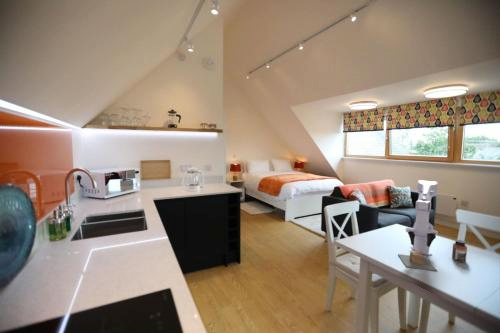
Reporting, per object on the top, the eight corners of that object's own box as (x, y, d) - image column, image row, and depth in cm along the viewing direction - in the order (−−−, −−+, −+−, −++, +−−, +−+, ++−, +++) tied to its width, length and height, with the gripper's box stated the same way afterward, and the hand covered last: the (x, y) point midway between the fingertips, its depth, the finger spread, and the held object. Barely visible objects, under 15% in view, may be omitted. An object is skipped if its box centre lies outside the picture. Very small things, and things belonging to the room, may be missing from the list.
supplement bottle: (451, 256, 137) (453, 238, 136) (465, 259, 133) (467, 240, 132) (451, 260, 132) (453, 241, 131) (466, 264, 128) (468, 244, 127)
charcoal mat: (398, 255, 139) (398, 254, 139) (425, 258, 135) (425, 257, 135) (406, 267, 126) (406, 266, 126) (437, 271, 122) (437, 270, 121)
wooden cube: (409, 258, 133) (410, 250, 133) (419, 260, 132) (420, 251, 131) (412, 263, 128) (413, 254, 128) (423, 264, 127) (424, 255, 126)
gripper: (409, 223, 127) (407, 246, 129) (441, 225, 123) (439, 250, 125) (405, 218, 134) (403, 241, 136) (435, 221, 130) (433, 244, 131)
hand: (420, 245), depth 131 cm, fingers open, 7 cm apart
